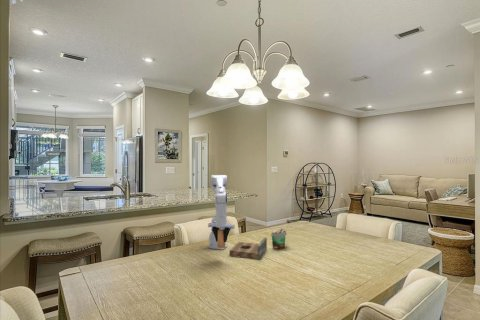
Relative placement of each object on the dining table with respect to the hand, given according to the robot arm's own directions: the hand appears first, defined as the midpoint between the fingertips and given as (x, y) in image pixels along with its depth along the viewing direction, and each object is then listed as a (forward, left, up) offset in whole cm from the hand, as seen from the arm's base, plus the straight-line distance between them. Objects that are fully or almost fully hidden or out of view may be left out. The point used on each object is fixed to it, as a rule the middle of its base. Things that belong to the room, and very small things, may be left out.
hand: (221, 241), depth 140 cm
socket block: (+11, +15, -10) cm, 21 cm away
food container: (+27, +29, -10) cm, 41 cm away
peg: (0, 0, -3) cm, 3 cm away
